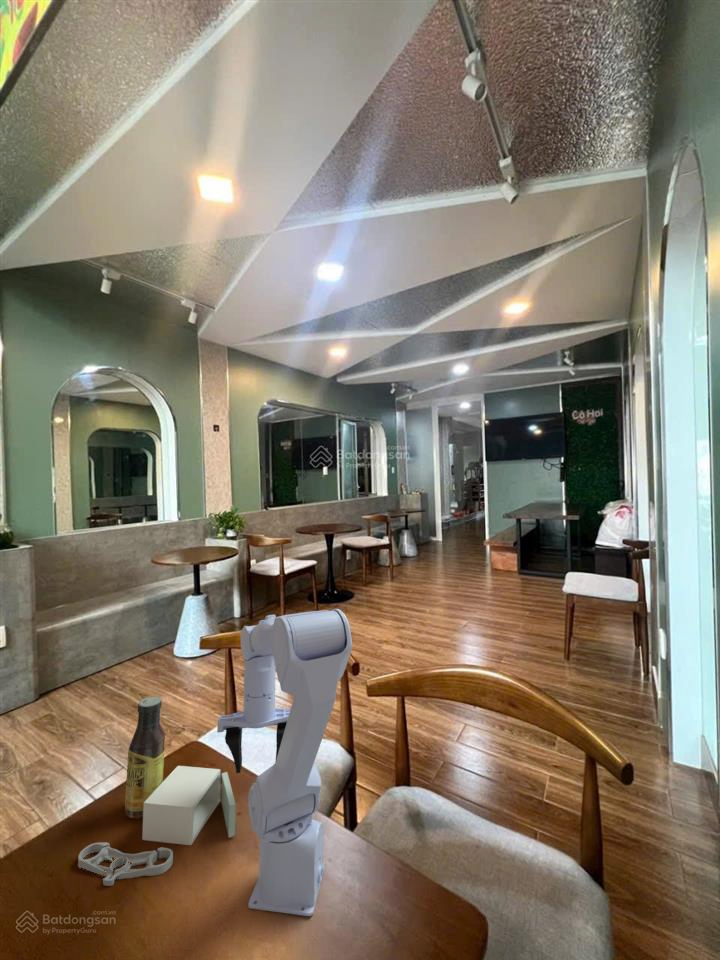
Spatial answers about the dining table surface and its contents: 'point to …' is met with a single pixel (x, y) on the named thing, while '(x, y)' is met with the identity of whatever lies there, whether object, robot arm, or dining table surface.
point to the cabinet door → (228, 804)
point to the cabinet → (181, 805)
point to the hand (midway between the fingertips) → (258, 767)
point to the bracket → (123, 862)
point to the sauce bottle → (145, 757)
